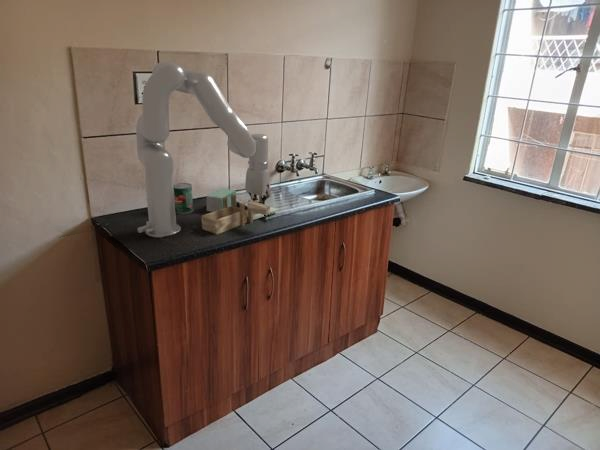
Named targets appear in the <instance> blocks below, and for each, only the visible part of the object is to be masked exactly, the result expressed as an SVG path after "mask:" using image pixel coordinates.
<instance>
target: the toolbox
mask: <svg viewBox="0 0 600 450" xmlns="http://www.w3.org/2000/svg"><path fill="white" fill-rule="evenodd" d="M222 200H223V209H221V210H218V211H215V212H209V213H205V214H202V215H201V229H202V230H204V231H207V232H208V233H209V232H210V233H212V234H215V235H219V234H222V233H224V232H227V231H229V230H233V229H234V228H237V227H240V226H241V227H245V226H246V224H247V223H249V224H253V223H254V220H253V211H250V210H248V209H245V208H246V207H245V206H246V203H245V202H243V201H241V202H239V207H238V206H237V194H236V195H234V194H232V195H231V206H230V207H227V197H222ZM250 201H253V200H251V198H250V199H248V200H247V203H248V202H250ZM247 211H248V218H247Z"/></svg>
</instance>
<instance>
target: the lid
mask: <svg viewBox="0 0 600 450" xmlns="http://www.w3.org/2000/svg"><path fill="white" fill-rule="evenodd" d="M254 202H257V203H258V202H260V201H259V199H258V200H255V201H254ZM274 211H278V212H279V209H278V208H276V207H272V206H270V212H274ZM263 217H265V216H264V215H263V214H260V213H256V212H253V221H254V220H257V219H260V218H263ZM247 219H248V210H247Z"/></svg>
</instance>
